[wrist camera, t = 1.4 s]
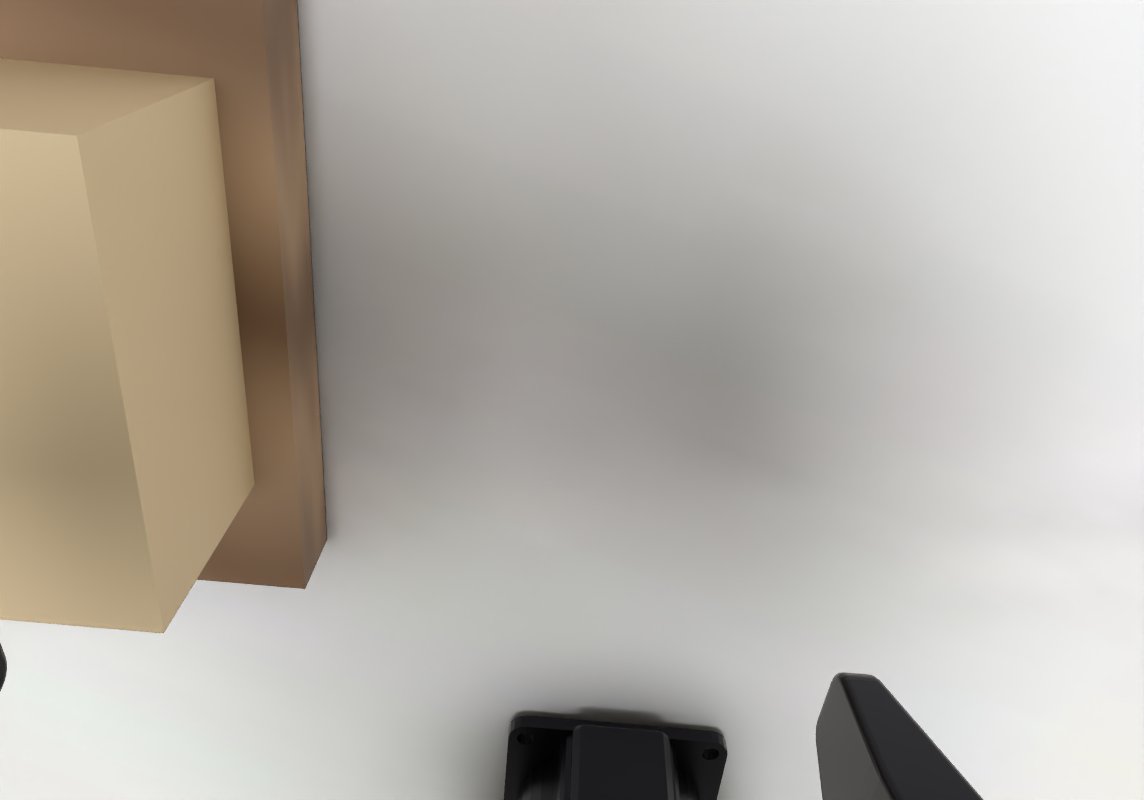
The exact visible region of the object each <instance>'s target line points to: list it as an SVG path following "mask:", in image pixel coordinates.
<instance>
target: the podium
mask: <svg viewBox="0 0 1144 800" xmlns="http://www.w3.org/2000/svg"><path fill="white" fill-rule="evenodd" d="M0 58H2V59H13V60H24V61H34V62H45V63H55V64H66V65H77V66H87V67H98V68H109V69H119V70H130V71H140V72H151V73H162V74H172V75H183V76H194V77H204V78H214V82H215V92H216V102H217V112H218V122H219V132H220V142H221V152H222V162H223V172H224V182H225V192H226V202H227V212H228V222H229V232H230V242H231V252H232V262H233V272H234V282H235V293H236V303H237V313H238V323H239V333H240V343H241V353H242V363H243V373H244V383H245V393H246V403H247V413H248V423H249V433H250V443H251V453H252V463H253V473H254V483H255V485H254V487H253V488H252V490H251V491H250V493H249V495H248V496H247V498H246V500H245V501H244V503H243V505H242V506H241V508H240V509H239V511H238V513H237V514H236V516H235V518H234V519H233V521H232V522H231V524H230V526H229V527H228V529H227V531H226V532H225V534H224V536H223V537H222V539H221V540H220V542H219V544H218V545H217V547H216V549H215V550H214V552H213V554H212V555H211V557H210V558H209V560H208V562H207V563H206V565H205V567H204V568H203V570H202V571H201V573H200V575H199V576H198V578H197V580H209V581H220V582H232V583H244V584H255V585H267V586H278V587H290V588H302V589H305V588H306V586H307V583H308V581H309V579H310V577H311V574H312V572H313V570H314V568H315V565H316V563H317V561H318V559H319V556H320V554H321V552H322V550H323V547H324V545H325V543H326V540H327V532H326V514H325V496H324V478H323V460H322V442H321V424H320V406H319V388H318V370H317V352H316V334H315V316H314V298H313V280H312V262H311V244H310V226H309V208H308V191H307V173H306V155H305V137H304V119H303V101H302V83H301V65H300V47H299V29H298V11H297V0H0Z"/></svg>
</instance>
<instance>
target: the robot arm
mask: <svg viewBox="0 0 1144 800" xmlns="http://www.w3.org/2000/svg"><path fill="white" fill-rule="evenodd" d="M6 672H7V662H6V657H5V654H4V652H3V649H2V646H1V644H0V691H1V689H2V686H3V684H4V681H5V677H6ZM524 732H527V733H529V734H525V733H524ZM816 746H817V754H818V763H819V772H820V780H821V789H822V798H823V800H983V799H982V797H981V796H980V795H979V794H978V793H977V792H976V791H975V789H974V788H973V787H972V786H971V785H970V784H969V783H968V781H967V780H966V779H965V778H964V777H963V776H962V774H961V773H960V772H959V771H958V770H957V769H956V768H955V766H954V765H953V764H952V763H951V762H950V761H949V759H948V758H947V757H946V756H945V755H944V754H943V753H942V751H941V750H940V749H939V748H938V747H937V746H936V745H935V743H934V742H933V741H932V740H931V739H930V738H929V736H928V735H927V734H926V733H925V732H924V731H923V730H922V728H921V727H920V726H919V725H918V724H917V723H916V721H915V720H914V719H913V718H912V717H911V716H910V715H909V713H908V712H907V711H906V710H905V709H904V708H903V706H902V705H901V704H900V703H899V702H898V701H897V700H896V698H895V697H894V696H893V695H892V694H891V693H890V692H889V690H888V689H887V688H886V687H885V686H884V685H883V683H882V682H881V681H880V680H879V679H877V678H876V677H874V676H872V675H868V674H856V673H838V674H837V675H836V676H835V677H834V678H833V680H832V682H831V685H830V687H829V690H828V693H827V696H826V698H825V701H824V704H823V707H822V709H821V712H820V715H819V717H818V721H817V726H816ZM707 748H712V749H707ZM726 758H727V748H726V741H725V739H724V737H723V736H722V735H720V734H719V733H716V732H712V731H700V730H689V729H677V728H665V727H653V726H641V725H629V724H618V723H606V722H594V721H582V720H570V719H559V718H547V717H535V716H520V717H518V718H515V719H514V720H513V721H512V722H511V724H510V729H509V738H508V752H507V765H506V779H505V792H504V800H716V799H717V795H718V791H719V787H720V783H721V779H722V775H723V771H724V767H725V762H726Z"/></svg>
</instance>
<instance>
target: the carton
mask: <svg viewBox="0 0 1144 800" xmlns="http://www.w3.org/2000/svg"><path fill="white" fill-rule="evenodd" d="M254 485H255V483H254V473H253V463H252V453H251V443H250V433H249V423H248V413H247V403H246V393H245V383H244V373H243V363H242V353H241V343H240V333H239V323H238V313H237V303H236V293H235V282H234V272H233V262H232V252H231V242H230V232H229V222H228V212H227V202H226V192H225V182H224V172H223V162H222V152H221V142H220V132H219V122H218V112H217V102H216V92H215V82H214V78H204V77H194V76H183V75H172V74H162V73H151V72H140V71H130V70H119V69H109V68H98V67H87V66H77V65H66V64H55V63H45V62H34V61H24V60H13V59H2V58H0V619H2V620H14V621H26V622H37V623H49V624H61V625H72V626H84V627H96V628H107V629H119V630H131V631H143V632H154V633H164V632H165V630H166V629H167V627H168V625H169V624H170V622H171V620H172V619H173V617H174V616H175V614H176V612H177V611H178V609H179V607H180V606H181V604H182V603H183V601H184V599H185V598H186V596H187V594H188V593H189V591H190V589H191V588H192V586H193V585H194V583H195V581H196V580H197V578H198V576H199V575H200V573H201V571H202V570H203V568H204V567H205V565H206V563H207V562H208V560H209V558H210V557H211V555H212V554H213V552H214V550H215V549H216V547H217V545H218V544H219V542H220V540H221V539H222V537H223V536H224V534H225V532H226V531H227V529H228V527H229V526H230V524H231V522H232V521H233V519H234V518H235V516H236V514H237V513H238V511H239V509H240V508H241V506H242V505H243V503H244V501H245V500H246V498H247V496H248V495H249V493H250V491H251V490H252V488H253V487H254Z"/></svg>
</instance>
